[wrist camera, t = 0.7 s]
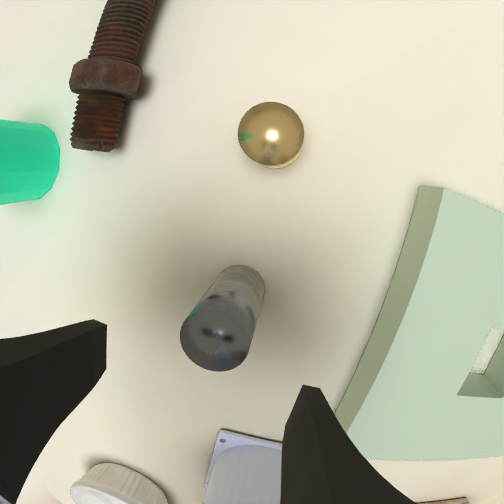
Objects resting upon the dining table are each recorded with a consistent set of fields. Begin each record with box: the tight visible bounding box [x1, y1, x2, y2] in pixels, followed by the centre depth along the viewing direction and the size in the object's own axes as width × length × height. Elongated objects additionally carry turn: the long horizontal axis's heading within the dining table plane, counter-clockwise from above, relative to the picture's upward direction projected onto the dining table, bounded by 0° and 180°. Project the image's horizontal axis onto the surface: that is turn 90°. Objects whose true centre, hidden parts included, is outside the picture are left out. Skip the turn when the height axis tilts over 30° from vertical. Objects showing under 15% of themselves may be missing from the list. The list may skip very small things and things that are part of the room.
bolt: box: [69, 0, 156, 152], centre depth 15 cm, size 6×5×15 cm
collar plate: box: [335, 186, 504, 461], centre depth 17 cm, size 18×18×4 cm
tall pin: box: [180, 265, 265, 371], centre depth 16 cm, size 3×3×7 cm
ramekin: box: [70, 463, 168, 504], centre depth 25 cm, size 11×11×5 cm
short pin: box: [238, 102, 304, 169], centre depth 16 cm, size 3×3×4 cm
